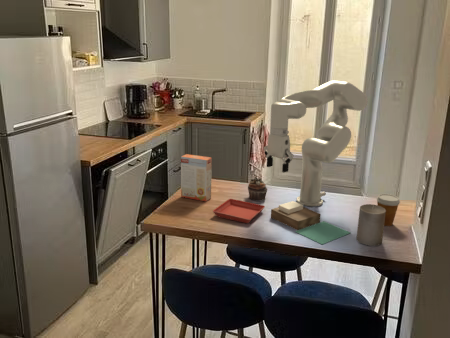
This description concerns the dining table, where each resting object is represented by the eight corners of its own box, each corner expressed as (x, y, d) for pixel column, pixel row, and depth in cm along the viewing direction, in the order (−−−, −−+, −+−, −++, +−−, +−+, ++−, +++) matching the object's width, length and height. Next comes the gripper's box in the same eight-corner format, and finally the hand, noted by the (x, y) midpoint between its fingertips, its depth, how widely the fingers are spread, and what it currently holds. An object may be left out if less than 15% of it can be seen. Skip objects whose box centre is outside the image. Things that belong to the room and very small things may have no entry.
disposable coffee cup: (385, 229, 182) (389, 202, 179) (368, 220, 190) (372, 195, 187) (401, 225, 186) (405, 199, 183) (384, 217, 194) (387, 192, 191)
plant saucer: (265, 212, 198) (265, 205, 197) (249, 226, 182) (249, 219, 181) (229, 204, 205) (229, 198, 204) (211, 218, 190) (211, 211, 189)
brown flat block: (292, 210, 199) (293, 202, 198) (319, 222, 187) (320, 213, 186) (270, 217, 191) (271, 209, 190) (297, 230, 179) (298, 221, 178)
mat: (323, 221, 188) (323, 221, 188) (350, 233, 178) (350, 232, 178) (295, 231, 177) (295, 231, 177) (322, 244, 167) (322, 244, 167)
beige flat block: (292, 205, 195) (293, 201, 194) (302, 209, 191) (303, 205, 190) (278, 209, 190) (278, 205, 189) (288, 213, 185) (288, 209, 185)
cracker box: (211, 198, 212) (212, 157, 206) (205, 202, 207) (206, 160, 201) (186, 193, 218) (186, 153, 212) (180, 197, 212) (180, 156, 206)
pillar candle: (374, 234, 177) (378, 200, 172) (386, 245, 167) (391, 209, 163) (351, 236, 175) (355, 201, 171) (363, 247, 166) (367, 210, 162)
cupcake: (262, 202, 208) (264, 182, 205) (244, 199, 212) (245, 179, 209) (269, 196, 217) (270, 177, 214) (251, 193, 221) (252, 174, 218)
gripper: (299, 133, 182) (297, 172, 187) (271, 126, 195) (269, 163, 200) (287, 136, 178) (285, 175, 183) (258, 129, 191) (257, 166, 196)
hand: (277, 169), depth 192 cm, fingers open, 9 cm apart
